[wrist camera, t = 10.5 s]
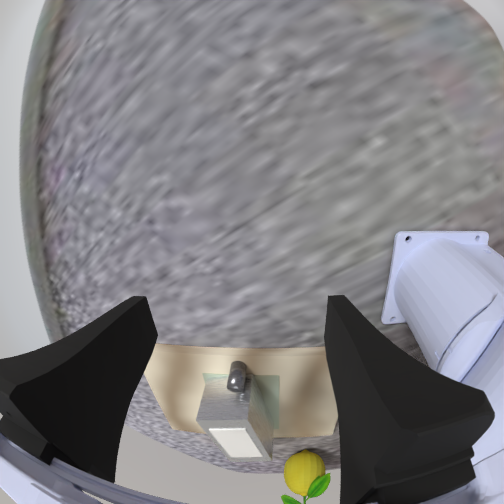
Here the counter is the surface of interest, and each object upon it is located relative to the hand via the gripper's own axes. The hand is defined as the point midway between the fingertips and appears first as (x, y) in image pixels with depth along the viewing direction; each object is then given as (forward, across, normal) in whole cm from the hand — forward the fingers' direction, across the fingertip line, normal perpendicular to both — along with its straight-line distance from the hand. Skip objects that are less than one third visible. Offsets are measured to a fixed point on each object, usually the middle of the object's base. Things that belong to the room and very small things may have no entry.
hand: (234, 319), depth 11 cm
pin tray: (+9, +2, +18) cm, 20 cm away
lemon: (+10, -5, +32) cm, 34 cm away
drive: (+8, +2, +18) cm, 19 cm away
